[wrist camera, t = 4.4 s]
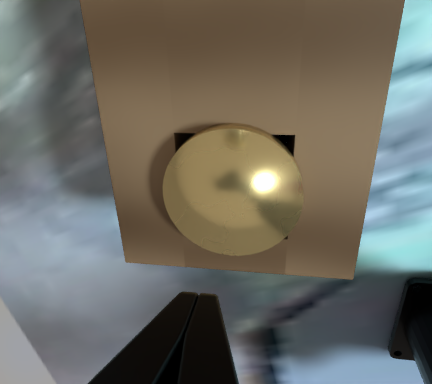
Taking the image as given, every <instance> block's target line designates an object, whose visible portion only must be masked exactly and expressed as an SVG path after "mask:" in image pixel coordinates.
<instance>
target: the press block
mask: <svg viewBox="0 0 432 384" xmlns="http://www.w3.org/2000/svg"><path fill="white" fill-rule="evenodd" d="M404 2H405V0H80V5H81V11H82V17H83V22H84V28H85V34H86V39H87V45H88V51H89V56H90V62H91V68H92V73H93V79H94V85H95V91H96V96H97V102H98V108H99V113H100V119H101V125H102V130H103V136H104V142H105V147H106V153H107V159H108V165H109V170H110V176H111V182H112V187H113V193H114V199H115V204H116V210H117V216H118V221H119V227H120V233H121V239H122V244H123V250H124V256H125V261H126V262H128V263H141V264H154V265H167V266H180V267H193V268H206V269H219V270H233V271H246V272H259V273H272V274H285V275H298V276H311V277H324V278H338V279H351V280H353V277H354V272H355V266H356V261H357V256H358V250H359V245H360V239H361V234H362V229H363V223H364V218H365V213H366V207H367V202H368V196H369V191H370V186H371V180H372V175H373V169H374V164H375V159H376V153H377V148H378V142H379V137H380V132H381V126H382V121H383V115H384V110H385V105H386V99H387V94H388V89H389V83H390V78H391V72H392V67H393V62H394V56H395V51H396V45H397V40H398V35H399V29H400V24H401V18H402V13H403V8H404ZM223 123H241V124H247V125H251V126H254V127H257V128H260V129H262V130H264V131H266V132H268V133H270V134H272V135H287V148H288V149H289V151H290V152H291V153H292V155H293V157H294V158H295V160H296V162H297V164H298V167H299V170H300V173H301V178H302V185H303V192H304V197H303V207H302V211H301V214H300V217H299V219H298V221H297V223H296V225H295V227H294V228H293V229H292V231H291V232H290V233H289V234H288V235H287V236H286V238H284V239H283V240H282V241H281V242H279V243H278V244H276V245H275V246H273V247H271V248H269V249H267V250H265V251H262V252H259V253H255V254H251V255H242V256H231V255H223V254H219V253H215V252H212V251H209V250H206V249H204V248H202V247H200V246H198V245H197V244H195V243H193V242H192V241H190V240H189V239H188V238H187V237H185V236H184V235H183V234H182V233H181V232H180V231H179V230H178V228H177V227H176V226H175V225H174V223H173V221H172V220H171V218H170V216H169V214H168V212H167V210H166V207H165V203H164V198H163V179H164V175H165V171H166V169H167V167H168V164H169V162H170V161H171V159H172V157H173V156H174V154H175V153H176V152H177V150H178V149H179V148H180V147H181V145H182V144H183V143H184V142H185V141H186V140H187V139H188V138H189V137H191V136H192V135H194V134H195V133H197V132H198V131H200V130H202V129H204V128H207V127H210V126H213V125H217V124H223Z"/></svg>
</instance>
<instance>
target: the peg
mask: <svg viewBox="0 0 432 384" xmlns="http://www.w3.org/2000/svg"><path fill="white" fill-rule="evenodd" d="M303 197H304V192H303V185H302V178H301V173H300V170H299V167H298V164H297V162H296V160H295V158H294V157H293V155H292V153H291V152H290V151H289V149H288V148H287V147H286V146H285V145H284V144H283V143H282V142H281V141H280V140H279V135H272V134H270V133H268V132H266V131H264V130H262V129H260V128H257V127H254V126H251V125H247V124H241V123H223V124H217V125H213V126H210V127H207V128H204V129H202V130H200V131H198V132H197V133H195V134H194V135H192V136H191V137H189V138H188V139H187V140H186V141H185V142H184V143H183V144H182V145H181V147H180V148H179V149H178V150H177V152H176V153H175V154H174V156H173V157H172V159H171V161H170V162H169V164H168V167H167V169H166V171H165V175H164V179H163V198H164V203H165V207H166V210H167V212H168V214H169V216H170V218H171V220H172V221H173V223H174V225H175V226H176V227H177V228H178V230H179V231H180V232H181V233H182V234H183V235H184V236H185V237H187V238H188V239H189V240H190V241H192V242H193V243H195V244H197V245H198V246H200V247H202V248H204V249H206V250H209V251H212V252H215V253H219V254H223V255H231V256H242V255H251V254H255V253H259V252H262V251H265V250H267V249H269V248H271V247H273V246H275V245H276V244H278V243H279V242H281V241H282V240H283V239H284V238H286V236H287V235H288V234H289V233H290V232H291V231H292V229H293V228H294V227H295V225H296V223H297V221H298V219H299V217H300V214H301V211H302V207H303Z"/></svg>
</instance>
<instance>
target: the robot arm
mask: <svg viewBox="0 0 432 384" xmlns="http://www.w3.org/2000/svg"><path fill="white" fill-rule="evenodd" d="M414 286H418V287H416V288H413V287H414ZM388 351H389V354H390V356H391V357H393V358H396V359H405V360H414V361H415V362H416V364H417V367H418V369H419V372H420V374H421V377H422V379H423V382H424V384H432V279H422V278H412V279H409V280H408V281H407V282H406V284H405V287H404V291H403V295H402V298H401V302H400V306H399V309H398V313H397V317H396V320H395V324H394V328H393V332H392V335H391V339H390V343H389V346H388ZM88 384H239V382H238V378H237V374H236V370H235V366H234V362H233V357H232V353H231V349H230V345H229V341H228V337H227V333H226V329H225V325H224V321H223V317H222V312H221V308H220V304H219V300H218V297H217V295H215V294H206V293H201V294H200V295H198V294H197V293H194V292H181V293H179V294H178V295H177V296H176V297H175V298H174V299H173V300H172V301H171V302H170V303H169V304H168V305H167V306H166V307H165V308H164V309H163V310H162V311H161V312H160V313H159V314H158V315H157V316H156V317H155V318H154V319H153V320H152V321H151V322H150V323H149V324H148V325H146V326H145V327H144V328H143V329H142V330H141V331H140V332H139V333H138V334H137V335H136V336H135V337H134V338H133V339H132V340H131V341H130V342H129V343H128V344H127V345H126V346H125V347H124V348H123V349H122V350H121V351H120V352H119V353H118V354H117V355H116V356H115V357H114V358H113V359H112V360H111V361H110V362H109V363H108V364H107V365H106V366H105V367H104V368H103V369H102V370H101V371H100V372H99V373H98V374H97V375H96V376H95V377H94V378H93V379H92V380H91V381H90V382H89V383H88Z"/></svg>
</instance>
